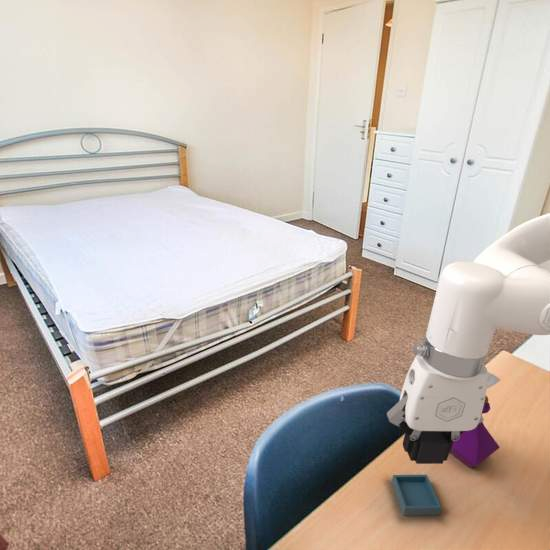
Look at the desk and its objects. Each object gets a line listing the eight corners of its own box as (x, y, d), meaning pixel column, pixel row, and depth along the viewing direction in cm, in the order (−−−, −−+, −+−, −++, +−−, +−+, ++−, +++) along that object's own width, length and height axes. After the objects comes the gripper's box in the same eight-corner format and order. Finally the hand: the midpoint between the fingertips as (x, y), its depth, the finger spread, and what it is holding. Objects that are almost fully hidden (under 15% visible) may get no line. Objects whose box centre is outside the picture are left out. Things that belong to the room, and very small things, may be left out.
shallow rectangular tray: (424, 481, 65) (426, 474, 64) (439, 515, 60) (441, 507, 59) (391, 482, 65) (393, 474, 64) (403, 515, 60) (405, 508, 59)
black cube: (431, 442, 60) (437, 423, 59) (442, 463, 57) (448, 444, 55) (406, 442, 60) (411, 423, 58) (416, 463, 56) (421, 444, 55)
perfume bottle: (471, 479, 66) (499, 398, 59) (434, 448, 72) (455, 371, 64) (495, 460, 70) (524, 381, 62) (458, 432, 75) (481, 357, 68)
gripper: (400, 371, 47) (377, 474, 54) (531, 372, 48) (491, 474, 55) (382, 337, 54) (364, 433, 61) (497, 339, 55) (465, 433, 62)
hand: (424, 452), depth 58 cm, fingers closed on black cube, 4 cm apart
